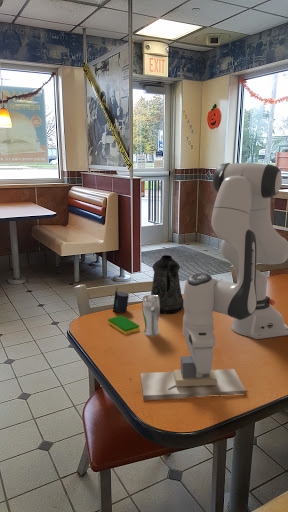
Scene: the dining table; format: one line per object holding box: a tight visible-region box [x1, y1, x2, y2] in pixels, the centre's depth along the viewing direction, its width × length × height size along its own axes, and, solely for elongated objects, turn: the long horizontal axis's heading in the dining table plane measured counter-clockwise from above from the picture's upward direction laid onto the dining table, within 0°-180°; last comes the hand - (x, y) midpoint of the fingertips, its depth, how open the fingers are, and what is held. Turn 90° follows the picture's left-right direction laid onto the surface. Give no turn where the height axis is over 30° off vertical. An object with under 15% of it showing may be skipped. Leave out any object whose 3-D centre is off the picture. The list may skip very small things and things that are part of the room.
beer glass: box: [141, 294, 161, 337], centre depth 152 cm, size 7×7×15 cm
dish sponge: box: [107, 315, 140, 335], centre depth 160 cm, size 7×14×2 cm, turn 35°
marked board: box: [140, 368, 247, 401], centre depth 117 cm, size 30×12×2 cm, turn 94°
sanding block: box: [173, 355, 217, 387], centre depth 116 cm, size 12×6×7 cm, turn 94°
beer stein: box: [150, 254, 184, 315], centre depth 176 cm, size 16×19×25 cm
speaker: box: [112, 286, 130, 314], centre depth 176 cm, size 8×6×10 cm
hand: (196, 371), depth 116 cm, fingers closed on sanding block, 4 cm apart
